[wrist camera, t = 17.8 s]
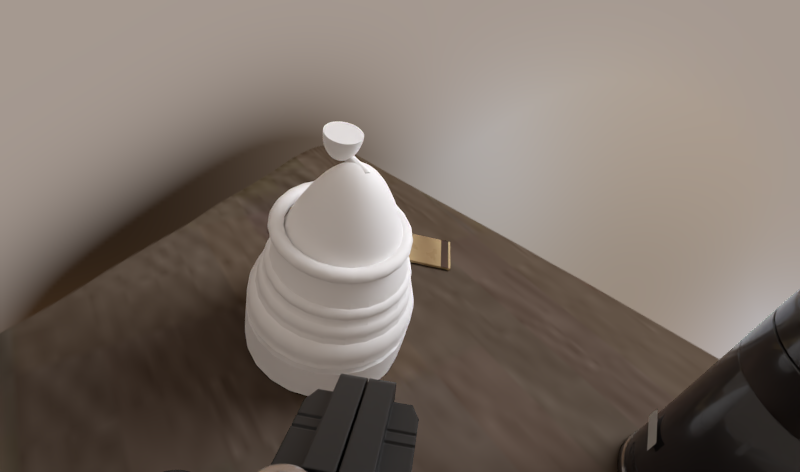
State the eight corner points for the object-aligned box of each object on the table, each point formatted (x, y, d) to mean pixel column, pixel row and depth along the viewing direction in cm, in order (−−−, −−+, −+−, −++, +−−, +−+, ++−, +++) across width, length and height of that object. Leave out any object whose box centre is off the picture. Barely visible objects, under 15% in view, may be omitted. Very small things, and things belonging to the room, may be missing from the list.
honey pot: (214, 307, 42) (211, 115, 30) (340, 253, 49) (376, 83, 38) (304, 430, 36) (342, 252, 24) (429, 347, 44) (505, 181, 32)
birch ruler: (449, 244, 54) (450, 241, 54) (449, 270, 51) (450, 268, 51) (281, 206, 52) (281, 204, 52) (271, 232, 49) (271, 229, 49)
